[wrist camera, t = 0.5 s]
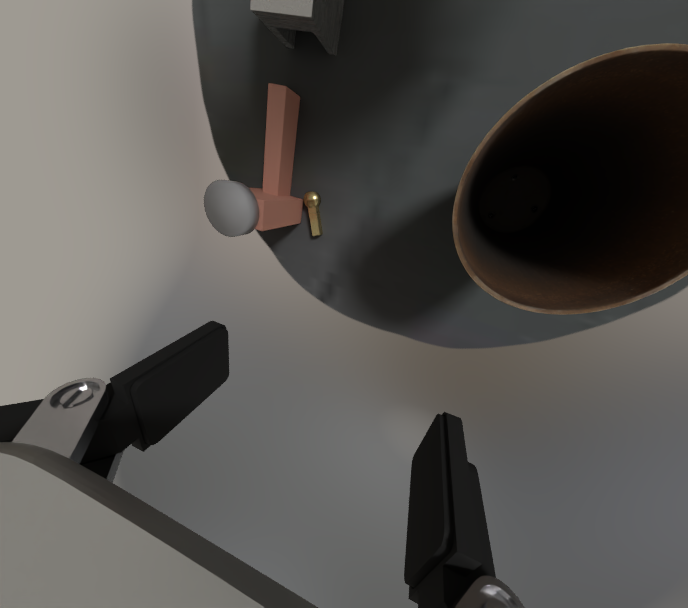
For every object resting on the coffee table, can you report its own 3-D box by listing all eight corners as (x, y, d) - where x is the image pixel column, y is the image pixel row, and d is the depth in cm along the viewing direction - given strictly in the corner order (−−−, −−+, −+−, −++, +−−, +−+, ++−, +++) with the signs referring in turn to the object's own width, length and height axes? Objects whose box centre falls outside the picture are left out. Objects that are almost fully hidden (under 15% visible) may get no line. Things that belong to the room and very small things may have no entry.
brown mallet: (268, 90, 32) (191, 40, 22) (316, 99, 31) (258, 51, 21) (261, 219, 40) (201, 227, 30) (299, 231, 39) (251, 244, 28)
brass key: (306, 192, 36) (302, 192, 35) (319, 190, 35) (316, 190, 34) (312, 234, 38) (309, 236, 37) (325, 233, 38) (322, 234, 37)
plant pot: (438, 262, 34) (443, 308, 20) (448, 136, 28) (465, 80, 14) (569, 263, 29) (694, 323, 16) (613, 113, 24) (872, -5, 10)
